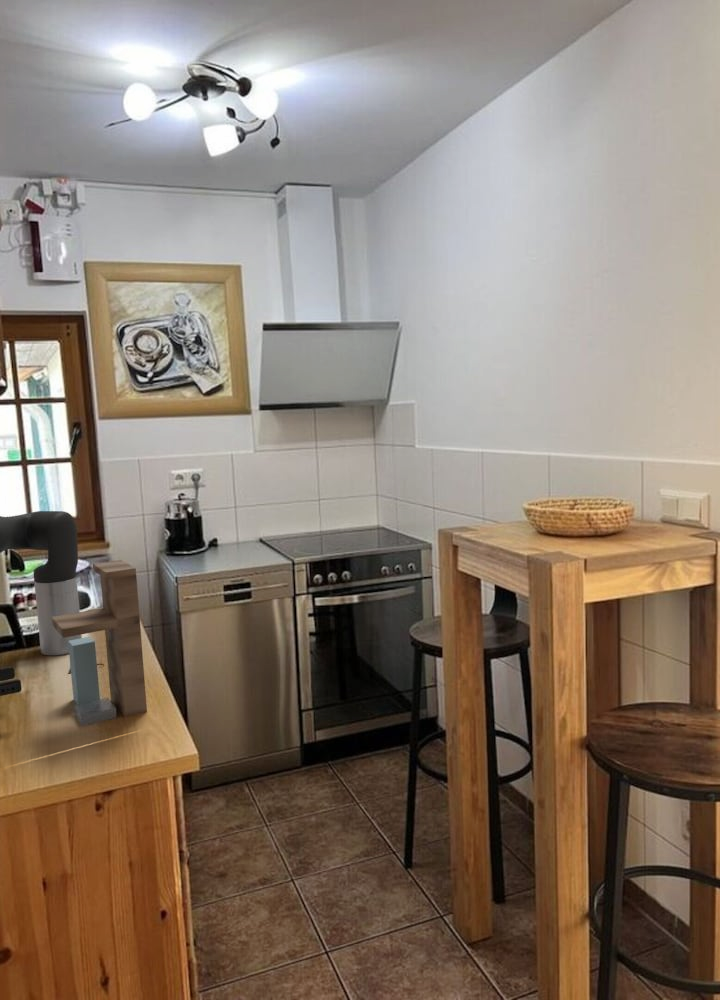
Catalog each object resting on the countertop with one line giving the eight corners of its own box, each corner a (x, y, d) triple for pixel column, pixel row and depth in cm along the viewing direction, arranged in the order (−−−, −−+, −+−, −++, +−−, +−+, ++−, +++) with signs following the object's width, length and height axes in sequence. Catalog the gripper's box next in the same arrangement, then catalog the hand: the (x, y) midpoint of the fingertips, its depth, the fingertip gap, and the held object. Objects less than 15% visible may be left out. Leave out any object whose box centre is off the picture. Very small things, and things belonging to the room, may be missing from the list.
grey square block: (75, 718, 136) (74, 705, 135) (108, 710, 139) (107, 697, 138) (82, 729, 131) (81, 716, 130) (116, 720, 134) (115, 707, 133)
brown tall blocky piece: (60, 713, 137) (47, 570, 134) (131, 696, 144) (120, 559, 141) (71, 732, 129) (57, 579, 125) (147, 713, 136) (135, 568, 132)
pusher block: (73, 700, 143) (67, 640, 142) (94, 695, 145) (89, 636, 144) (78, 707, 140) (72, 645, 138) (100, 701, 142) (94, 641, 141)
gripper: (-87, 690, 120) (21, 668, 129) (-89, 666, 132) (10, 648, 141) (-82, 734, 121) (25, 710, 130) (-85, 707, 133) (13, 686, 142)
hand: (17, 678), depth 135 cm, fingers open, 8 cm apart
